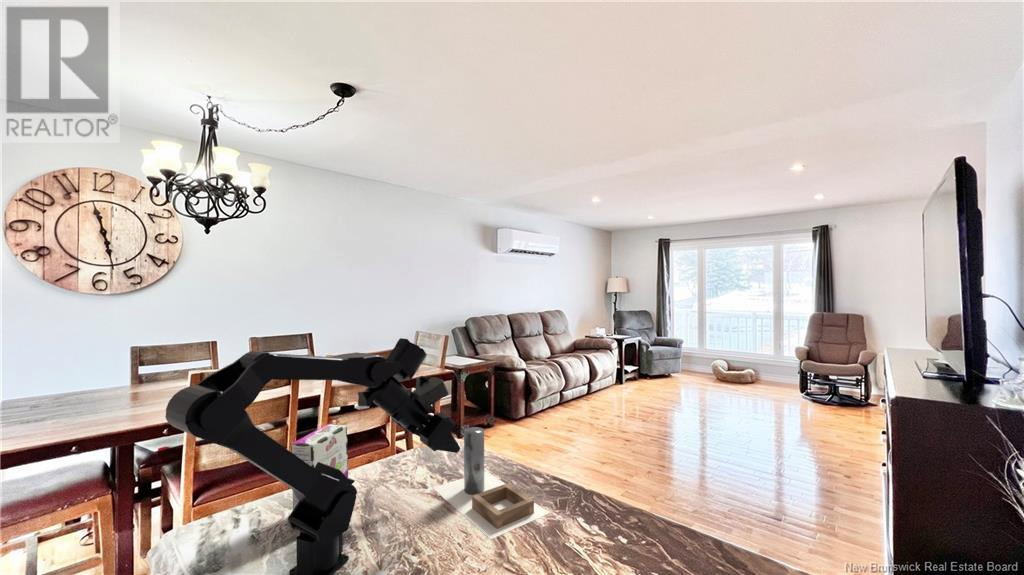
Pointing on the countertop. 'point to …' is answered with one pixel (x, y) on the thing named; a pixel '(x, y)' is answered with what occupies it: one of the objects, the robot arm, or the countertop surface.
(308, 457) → the candy bar box
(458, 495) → the board
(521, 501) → the square wooden frame
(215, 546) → the countertop surface
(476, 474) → the grey tall rounded cylinder
